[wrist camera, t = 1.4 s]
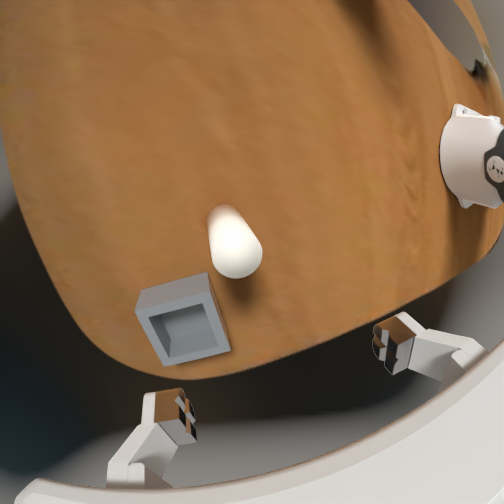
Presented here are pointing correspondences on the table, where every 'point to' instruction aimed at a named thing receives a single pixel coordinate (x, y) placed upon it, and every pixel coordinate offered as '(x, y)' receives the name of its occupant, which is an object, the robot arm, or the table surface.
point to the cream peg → (232, 242)
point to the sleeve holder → (183, 320)
